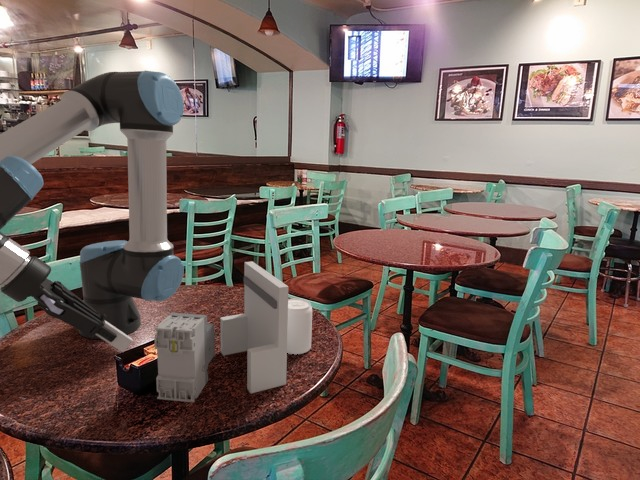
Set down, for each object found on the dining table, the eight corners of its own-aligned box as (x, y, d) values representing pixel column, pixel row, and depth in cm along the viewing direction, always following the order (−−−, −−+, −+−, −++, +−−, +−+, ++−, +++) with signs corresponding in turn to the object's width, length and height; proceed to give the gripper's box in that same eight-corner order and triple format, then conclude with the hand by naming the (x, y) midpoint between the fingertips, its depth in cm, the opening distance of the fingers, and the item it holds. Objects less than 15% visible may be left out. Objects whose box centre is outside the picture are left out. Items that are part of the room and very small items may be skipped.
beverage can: (274, 343, 115) (275, 299, 112) (304, 339, 118) (306, 296, 115) (283, 358, 107) (284, 311, 105) (315, 354, 110) (317, 307, 107)
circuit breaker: (217, 366, 102) (216, 304, 99) (193, 402, 89) (192, 331, 85) (185, 363, 103) (183, 302, 100) (157, 398, 89) (153, 328, 86)
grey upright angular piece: (220, 352, 109) (219, 264, 104) (251, 345, 113) (252, 261, 108) (250, 393, 92) (251, 291, 87) (286, 384, 96) (288, 286, 91)
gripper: (2, 277, 80) (110, 346, 92) (-8, 301, 69) (116, 376, 81) (34, 246, 82) (136, 318, 94) (30, 264, 71) (146, 343, 83)
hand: (127, 345), depth 87 cm, fingers closed
